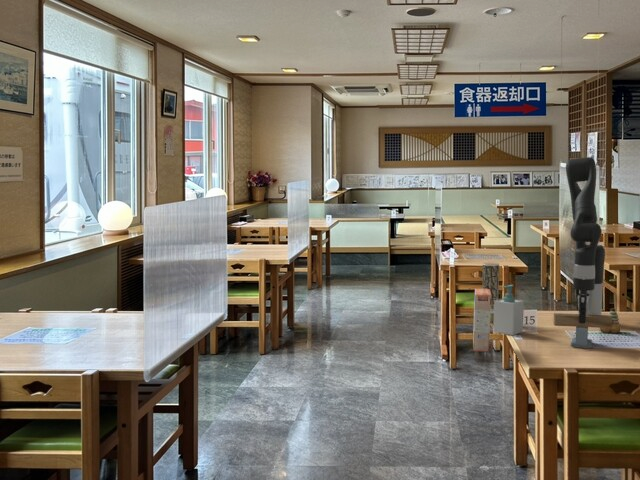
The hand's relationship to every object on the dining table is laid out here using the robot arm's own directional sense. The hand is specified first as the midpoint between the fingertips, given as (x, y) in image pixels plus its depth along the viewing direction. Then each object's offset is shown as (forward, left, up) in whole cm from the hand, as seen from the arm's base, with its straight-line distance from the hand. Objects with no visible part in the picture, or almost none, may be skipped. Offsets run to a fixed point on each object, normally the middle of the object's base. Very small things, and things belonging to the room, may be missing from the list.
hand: (582, 321), depth 265 cm
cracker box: (+19, -34, -9) cm, 40 cm away
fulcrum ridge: (0, 0, -9) cm, 9 cm away
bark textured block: (-28, -38, -9) cm, 48 cm away
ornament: (-26, +10, -9) cm, 29 cm away
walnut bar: (0, 0, -2) cm, 2 cm away
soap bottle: (-10, -28, -9) cm, 31 cm away
